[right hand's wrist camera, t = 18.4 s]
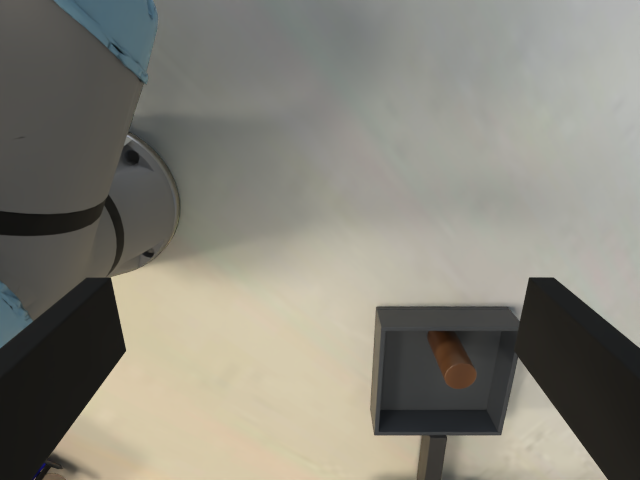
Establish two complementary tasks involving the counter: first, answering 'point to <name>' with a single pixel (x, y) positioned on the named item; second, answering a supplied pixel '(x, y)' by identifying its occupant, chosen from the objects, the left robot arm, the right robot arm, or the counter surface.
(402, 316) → the tray
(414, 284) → the counter surface
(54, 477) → the figurine character
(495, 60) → the counter surface
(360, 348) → the counter surface
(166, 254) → the counter surface
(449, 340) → the peg
